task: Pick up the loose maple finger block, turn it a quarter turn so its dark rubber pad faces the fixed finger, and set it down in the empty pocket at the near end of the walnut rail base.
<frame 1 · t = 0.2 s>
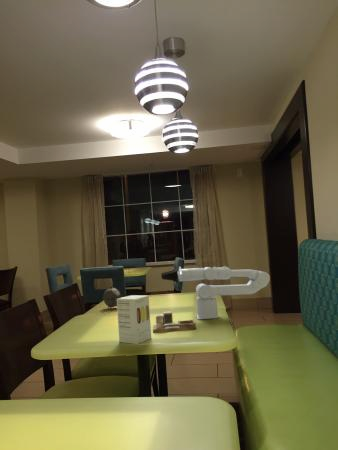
hand: (161, 276, 172), 21 cm above the table, tool horizontal, fingers open, 7 cm apart
alarm clock: (112, 309, 214), on the table
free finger: (168, 323, 166), on the table
rail base: (174, 328, 155), on the table
supplement box: (135, 340, 141), on the table
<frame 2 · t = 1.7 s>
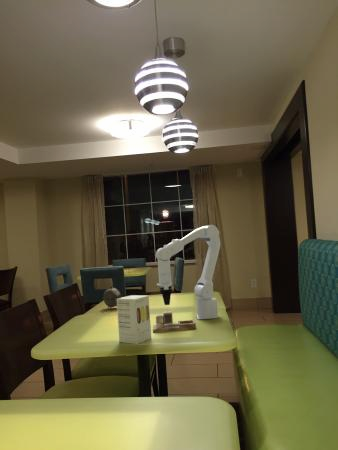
hand: (166, 303, 166), 9 cm above the table, tool pointing down, fingers open, 7 cm apart
nothing on the table moved.
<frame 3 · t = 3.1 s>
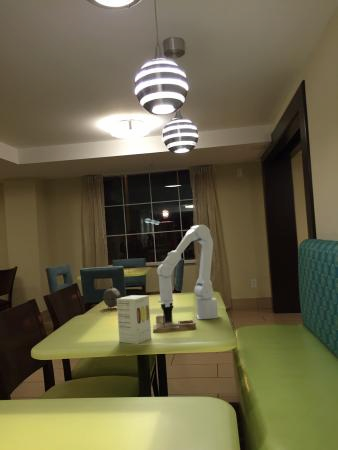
hand: (168, 320, 166), 1 cm above the table, tool pointing down, fingers open, 4 cm apart
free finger: (168, 323, 166), on the table, touching gripper
everything else where it was.
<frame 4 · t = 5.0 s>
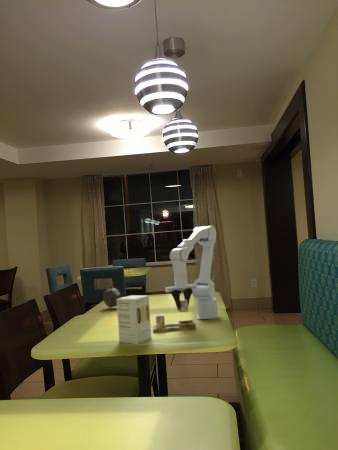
hand: (182, 306, 158), 8 cm above the table, tool pointing down, fingers closed on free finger, 3 cm apart
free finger: (183, 311, 158), point 6 cm above the table, touching gripper
everything else where it was.
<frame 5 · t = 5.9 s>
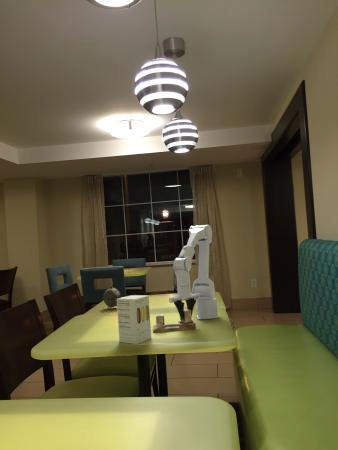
hand: (186, 317, 156), 4 cm above the table, tool pointing down, fingers closed on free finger, 3 cm apart
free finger: (186, 321, 156), point 2 cm above the table, touching gripper
everything else where it was.
when the fingers open (4 cm above the table, at t = 6.8 s): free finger stays where it is, resting on rail base.
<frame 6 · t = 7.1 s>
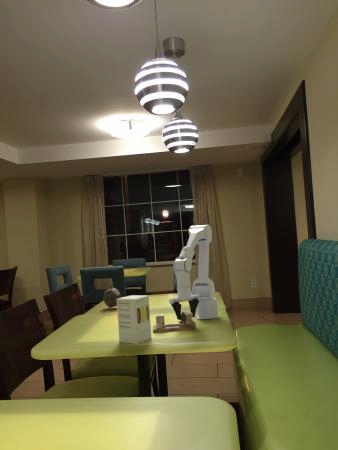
hand: (186, 318, 156), 4 cm above the table, tool pointing down, fingers open, 6 cm apart
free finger: (186, 323, 156), point 2 cm above the table, tilted 15°, touching rail base
everything else where it was.
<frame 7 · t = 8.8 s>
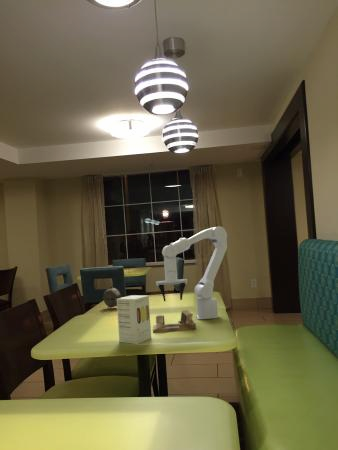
hand: (172, 300, 169), 10 cm above the table, tool pointing down, fingers open, 7 cm apart
nothing on the table moved.
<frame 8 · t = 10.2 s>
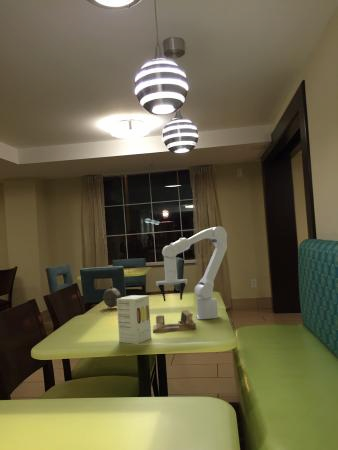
hand: (172, 300, 169), 10 cm above the table, tool pointing down, fingers open, 7 cm apart
nothing on the table moved.
at the end: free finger 0.6 cm from the target spot on the rail base, point 1.7 cm above the rail base's base; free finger tilted 15°; the gripper is holding nothing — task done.
